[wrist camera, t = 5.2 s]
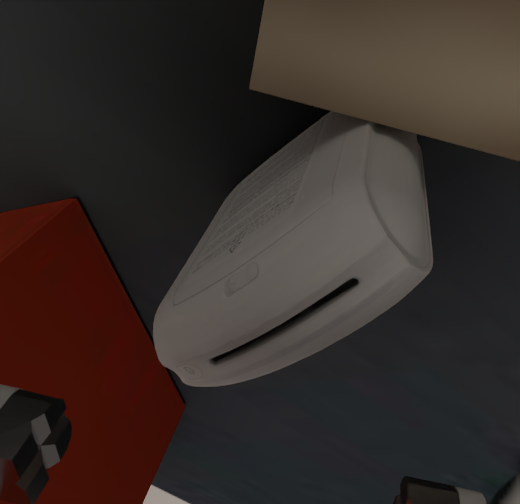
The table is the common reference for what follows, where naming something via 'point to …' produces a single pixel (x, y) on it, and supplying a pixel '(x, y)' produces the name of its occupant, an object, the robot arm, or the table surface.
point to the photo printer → (300, 254)
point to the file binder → (82, 355)
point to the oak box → (400, 65)
